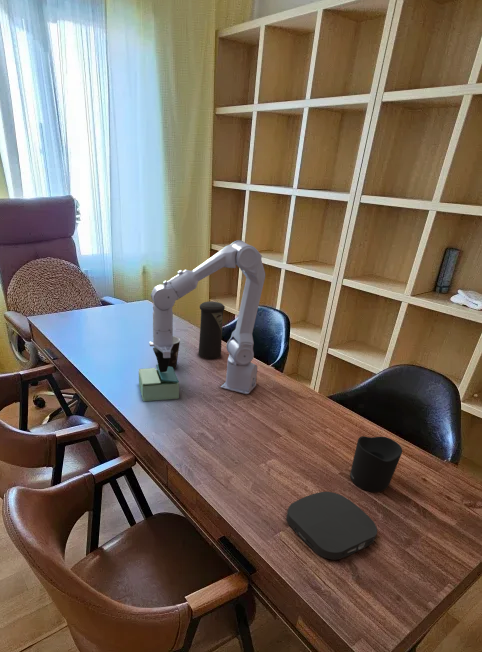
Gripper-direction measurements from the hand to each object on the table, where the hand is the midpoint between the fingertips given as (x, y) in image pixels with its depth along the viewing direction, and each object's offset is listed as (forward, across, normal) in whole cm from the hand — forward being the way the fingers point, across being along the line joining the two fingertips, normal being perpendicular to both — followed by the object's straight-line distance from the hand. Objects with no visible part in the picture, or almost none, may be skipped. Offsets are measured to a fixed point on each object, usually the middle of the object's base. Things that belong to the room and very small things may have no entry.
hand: (163, 370), depth 131 cm
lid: (+1, 0, +1) cm, 2 cm away
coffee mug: (+7, -20, +6) cm, 22 cm away
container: (+7, -27, +22) cm, 35 cm away
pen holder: (+7, +53, +40) cm, 67 cm away
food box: (+7, 0, -2) cm, 7 cm away
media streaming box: (+7, +65, +24) cm, 69 cm away
